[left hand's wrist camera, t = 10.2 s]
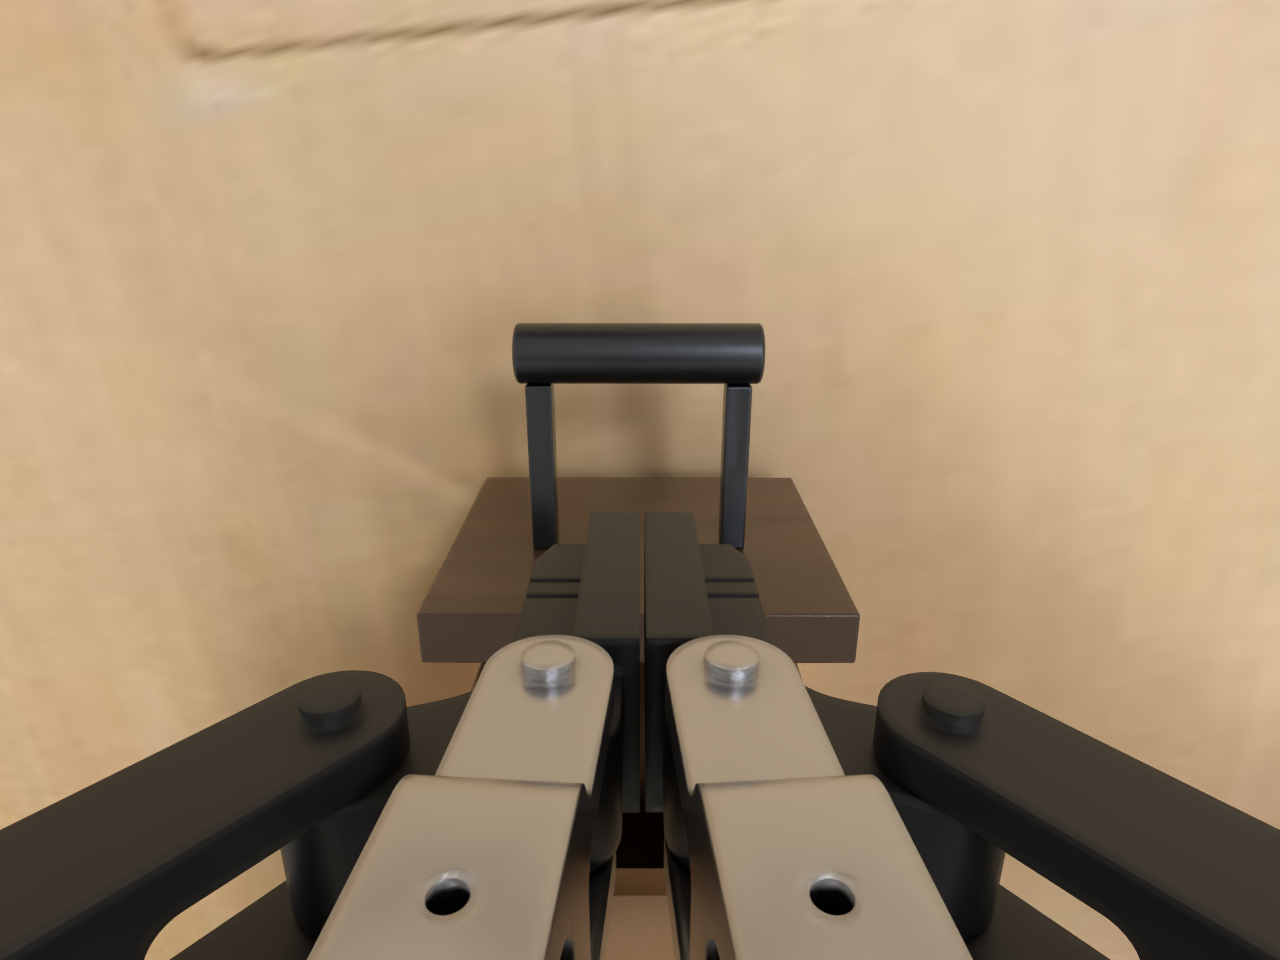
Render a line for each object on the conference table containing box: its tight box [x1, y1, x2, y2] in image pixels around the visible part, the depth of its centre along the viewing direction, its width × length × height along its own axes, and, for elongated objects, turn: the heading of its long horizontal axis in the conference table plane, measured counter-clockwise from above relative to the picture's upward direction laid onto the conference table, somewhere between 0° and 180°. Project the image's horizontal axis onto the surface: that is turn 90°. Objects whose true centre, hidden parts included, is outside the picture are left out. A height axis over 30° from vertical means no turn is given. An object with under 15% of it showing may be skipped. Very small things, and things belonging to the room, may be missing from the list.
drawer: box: [417, 323, 860, 868], centre depth 23 cm, size 25×9×8 cm, turn 0°
